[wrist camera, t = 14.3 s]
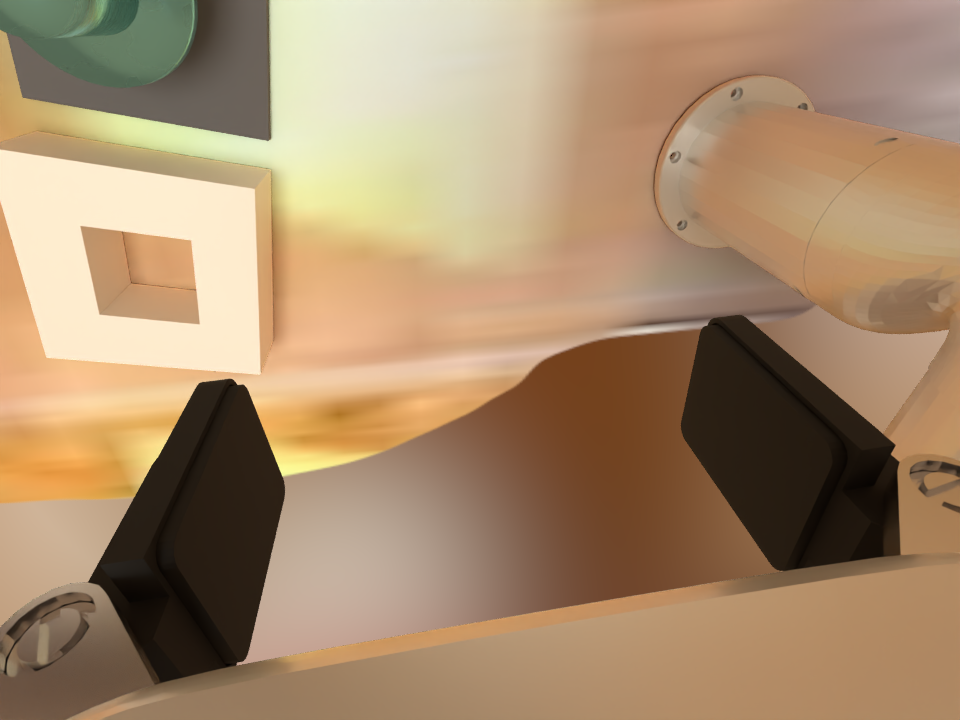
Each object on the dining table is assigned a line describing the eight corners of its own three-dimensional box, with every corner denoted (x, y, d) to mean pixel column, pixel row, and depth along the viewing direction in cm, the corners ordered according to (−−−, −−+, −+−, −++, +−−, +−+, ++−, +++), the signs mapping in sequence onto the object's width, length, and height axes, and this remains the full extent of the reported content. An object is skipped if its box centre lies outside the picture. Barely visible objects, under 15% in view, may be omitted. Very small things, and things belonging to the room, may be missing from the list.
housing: (270, 169, 36) (254, 188, 31) (273, 340, 43) (260, 374, 39) (36, 131, 32) (-16, 147, 28) (82, 322, 40) (46, 357, 36)
